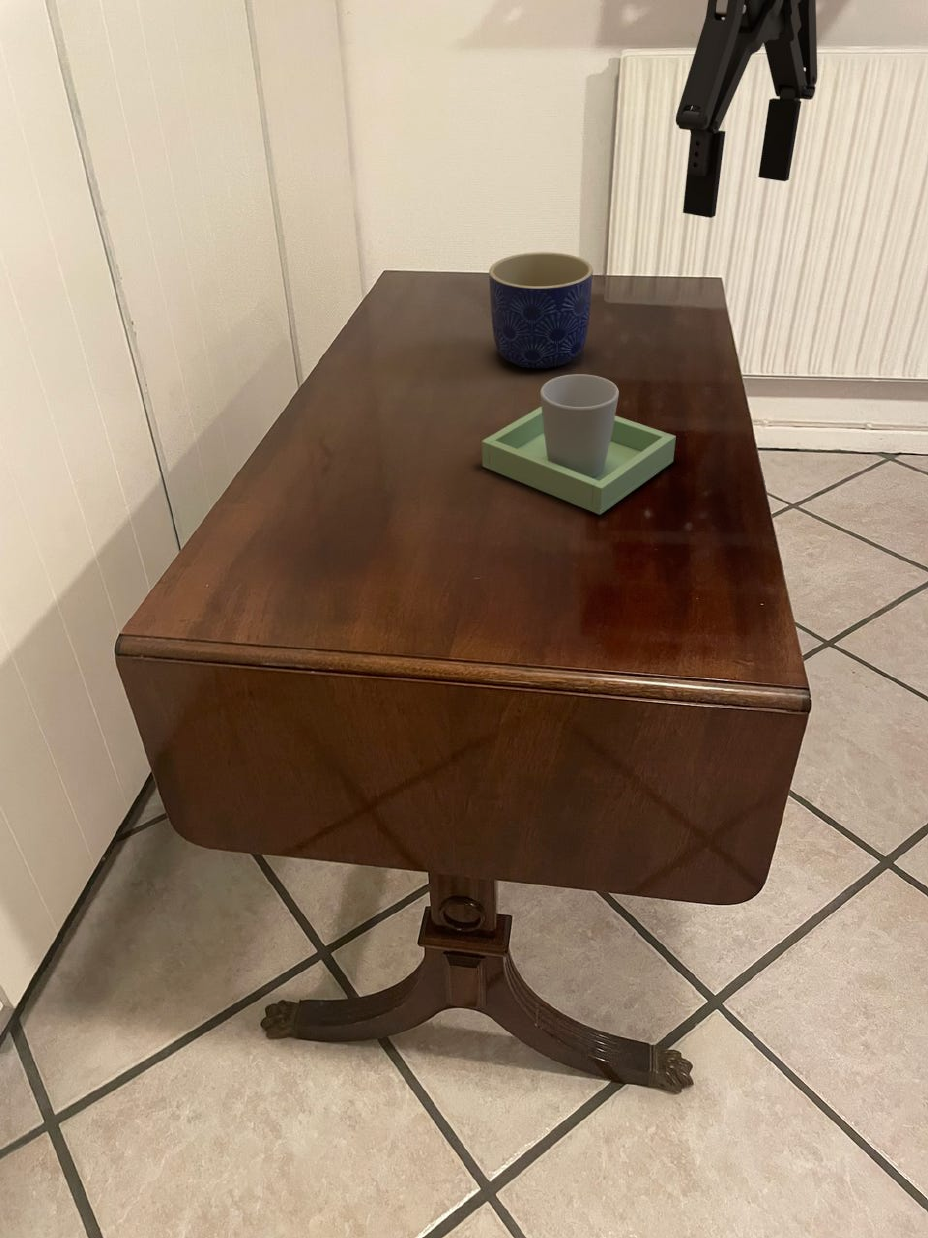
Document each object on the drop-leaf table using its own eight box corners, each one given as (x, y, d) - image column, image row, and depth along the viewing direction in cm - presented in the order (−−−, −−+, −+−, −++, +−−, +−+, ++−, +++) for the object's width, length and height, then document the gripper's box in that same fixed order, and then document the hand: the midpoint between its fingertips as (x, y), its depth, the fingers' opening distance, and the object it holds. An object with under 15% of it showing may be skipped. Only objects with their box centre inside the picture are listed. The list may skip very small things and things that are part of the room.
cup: (539, 487, 95) (540, 408, 89) (538, 438, 102) (539, 364, 97) (616, 486, 94) (622, 407, 89) (609, 438, 102) (614, 362, 97)
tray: (673, 461, 99) (676, 435, 97) (600, 515, 91) (601, 488, 89) (558, 420, 107) (558, 395, 105) (482, 466, 99) (481, 440, 97)
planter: (479, 371, 117) (476, 283, 111) (504, 332, 127) (504, 249, 120) (578, 380, 114) (581, 290, 107) (597, 340, 123) (601, 254, 117)
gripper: (804, -111, 81) (764, 159, 94) (645, -92, 66) (624, 223, 80) (892, -112, 77) (837, 170, 90) (743, -94, 63) (704, 239, 76)
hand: (737, 195), depth 85 cm, fingers open, 13 cm apart
